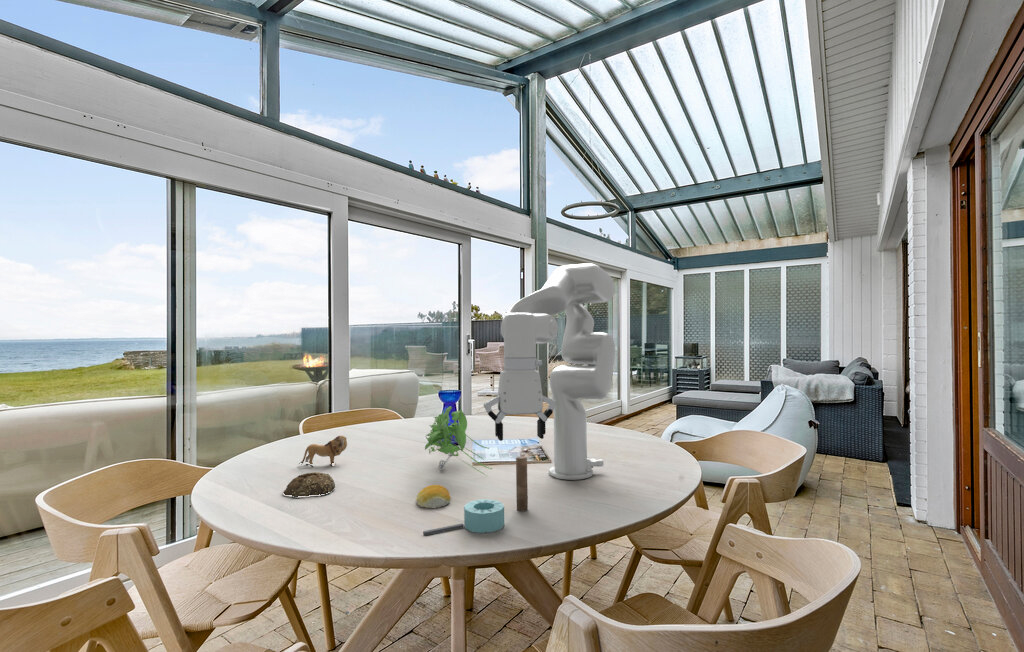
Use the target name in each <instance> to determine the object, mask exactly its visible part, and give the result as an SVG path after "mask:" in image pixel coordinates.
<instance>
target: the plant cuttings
mask: <svg viewBox="0 0 1024 652" xmlns="http://www.w3.org/2000/svg"><path fill="white" fill-rule="evenodd" d="M452 409H453V407H452V406H451V405H450V406H448V407H446V408H445V409H443V410H442V412H441V414H438V416H433V418H434V421H433V424H432V425H431V424H430V425H429V426H430V427H429V428H431V430H430V432H428V434H425V438H426V440H427V443H426V444H425V446H424V450H427V449H428V448H429V449H428V451H429V452H428V453H429V455H431V452H436V451H438V452H441V453H444V455H448V457H447V458H446V460H444V459H441V460H440V461H439V462H438V463H439V465H438V466H437V467H438V469H439V470H440V471H443V469H445V465H446V464H447V463H448V462H449V460H450V459H451V458H452V457H456V458H457V457H459V452H458V451H461V452H463V454H465V455H466V456H468V457H469V458H470V459H472V461H474V462H475V463H477V464H478V465H480V466H482V467H484V468H486V469H489V470H493V468H492V467H488V466H487V465H484V464H483V463H481V462H479V461H477V460H476V459H474V458H473V457H472V456H471V455H469V454H468V453H466V451H464V449H465V450H467V451H469V452H471V453H472V454H474V455H475V456H477V457H479V458H480V459H482V460H484V458H483V457H481V455H479V454H477V453H475V452H474V451H473V450H470V449H468V447H465V446H466V443H467V438H468V439H469V440H471V441H472V442H473V443H474V444H476V445H477V446H479V447H481V448H484V449H490V447H487V446H483V445H482V444H480V443H478V442H476V441H475V440H473V439H472V437H470V436H468V435H467V434H466V430H467V427H468V420H467V417H466V415H465V413H464V412H463V410H462V409H460V410H456V411H452V412H451V410H452ZM450 412H451V417H452V418H450ZM450 419H451V420H452V421H453V422H451V420H450ZM449 424H450V425H449ZM455 443H456V444H458V445H456V444H455ZM435 447H437V448H435ZM439 447H440V448H439ZM455 453H456V454H455ZM459 460H460V461H462V462H464V463H465V464H467V465H468V466H470V467H471V468H473V469H475V470H476V471H478V472H479V473H480V474H483V475H485V476H487V477H488V475H486V474H485V473H484V472H482V471H481V470H480V469H477V468H476V467H474V466H473V465H471V464H469V463H467V462H466V461H464V460H462V459H461V458H459ZM440 471H439V472H440Z"/></svg>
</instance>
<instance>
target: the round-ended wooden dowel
mask: <svg viewBox="0 0 1024 652" xmlns="http://www.w3.org/2000/svg"><path fill="white" fill-rule="evenodd" d="M515 473H516V474H515V476H516V477H515V480H516V482H515V485H516V495H515V496H516V511H518V512H526V510H527V511H528V509H529V508H528V507H529V506H528V503H529V502H528V501H529V499H528V498H529V497H528V457H527V456H516V457H515Z"/></svg>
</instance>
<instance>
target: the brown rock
mask: <svg viewBox="0 0 1024 652" xmlns="http://www.w3.org/2000/svg"><path fill="white" fill-rule="evenodd" d="M334 488H336V483H335V481H334V478H333V477H332V476H331V475H330V474H329V473H324V472H319V471H318V472H317V471H316V472H306V473H303V474H299V475H297V476H296V477H294V478H292V480H291V481H290V482H288V484H287V485H286V488H285V489H284V491H283V492H282V494H283V493H284V494H285V495H292V496H294V497H298V496H309V495H319V494H320V495H321V494H326V493H328V492H331V491H332V490H333V489H334ZM334 490H335V489H334ZM334 490H333V491H334ZM333 491H332V492H333ZM332 492H331V493H332Z"/></svg>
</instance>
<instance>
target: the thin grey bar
mask: <svg viewBox="0 0 1024 652" xmlns="http://www.w3.org/2000/svg"><path fill="white" fill-rule="evenodd" d="M463 528H464V529H465V525H464V523H457V524H453V525H448V526H443V527H438V528H433V529H428V530H423V531H422V534H423V536H428V535H433V533H435V534H438V532H439V533H444V532H449V531H454V530H459V529H463ZM443 531H444V532H443Z"/></svg>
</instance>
